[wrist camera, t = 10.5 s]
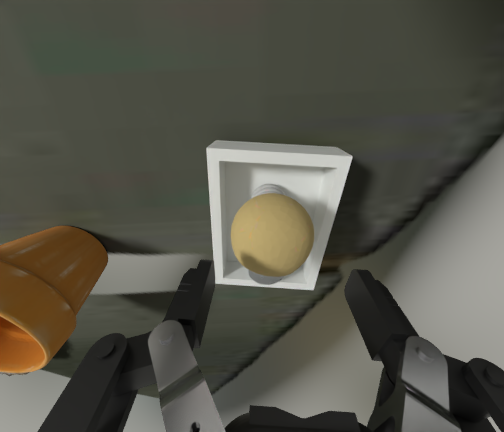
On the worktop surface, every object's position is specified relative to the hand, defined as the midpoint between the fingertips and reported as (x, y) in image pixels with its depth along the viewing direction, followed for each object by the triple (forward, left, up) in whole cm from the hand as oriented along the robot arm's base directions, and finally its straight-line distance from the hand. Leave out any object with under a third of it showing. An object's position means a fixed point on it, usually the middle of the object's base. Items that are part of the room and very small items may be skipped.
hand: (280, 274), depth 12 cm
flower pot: (+12, -28, -14) cm, 33 cm away
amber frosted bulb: (0, 0, -12) cm, 12 cm away
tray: (+3, 0, -14) cm, 14 cm away
